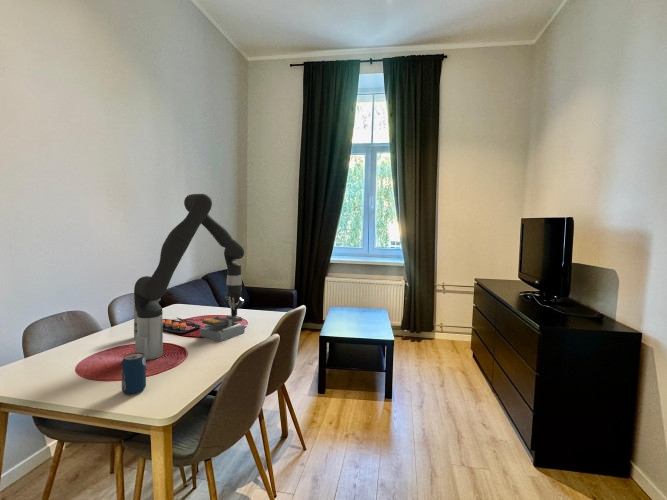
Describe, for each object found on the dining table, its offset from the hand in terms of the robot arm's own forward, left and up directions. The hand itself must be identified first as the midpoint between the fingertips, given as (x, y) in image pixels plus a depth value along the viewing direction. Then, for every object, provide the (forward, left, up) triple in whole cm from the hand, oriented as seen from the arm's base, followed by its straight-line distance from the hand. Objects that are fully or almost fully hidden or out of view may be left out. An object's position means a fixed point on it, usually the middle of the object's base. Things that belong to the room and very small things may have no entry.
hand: (234, 316), depth 179 cm
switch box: (-8, 0, -8) cm, 11 cm away
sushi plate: (-7, +31, -8) cm, 33 cm away
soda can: (-65, -19, -8) cm, 68 cm away
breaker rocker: (-8, 0, -1) cm, 8 cm away
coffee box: (-30, +28, -8) cm, 42 cm away
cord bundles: (-7, 0, -4) cm, 8 cm away
